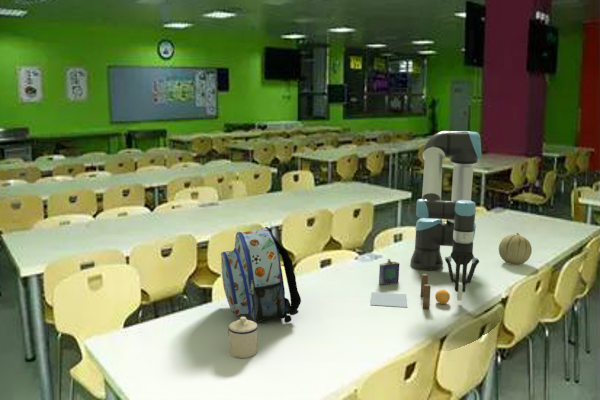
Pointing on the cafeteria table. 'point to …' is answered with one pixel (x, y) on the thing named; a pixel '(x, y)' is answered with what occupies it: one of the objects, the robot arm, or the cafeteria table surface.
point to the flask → (389, 273)
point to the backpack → (259, 277)
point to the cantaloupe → (515, 249)
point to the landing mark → (388, 299)
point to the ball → (442, 296)
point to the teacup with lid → (243, 338)
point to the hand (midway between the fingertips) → (459, 299)
